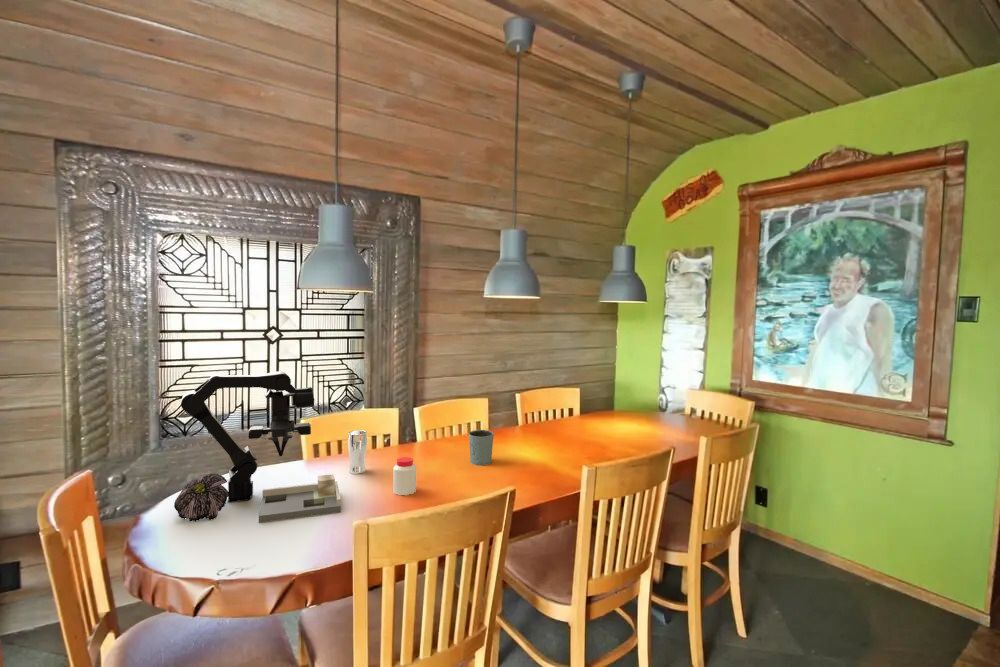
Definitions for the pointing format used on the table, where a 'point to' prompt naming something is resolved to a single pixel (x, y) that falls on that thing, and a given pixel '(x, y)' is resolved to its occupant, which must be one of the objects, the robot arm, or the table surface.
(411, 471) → the pill bottle
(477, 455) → the grey cup
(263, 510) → the trap deck
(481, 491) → the table surface
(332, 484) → the ivory block
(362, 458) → the beer glass
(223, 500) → the decorative flower
